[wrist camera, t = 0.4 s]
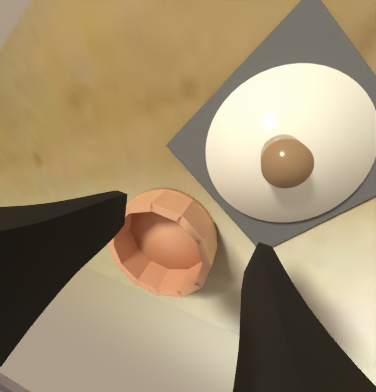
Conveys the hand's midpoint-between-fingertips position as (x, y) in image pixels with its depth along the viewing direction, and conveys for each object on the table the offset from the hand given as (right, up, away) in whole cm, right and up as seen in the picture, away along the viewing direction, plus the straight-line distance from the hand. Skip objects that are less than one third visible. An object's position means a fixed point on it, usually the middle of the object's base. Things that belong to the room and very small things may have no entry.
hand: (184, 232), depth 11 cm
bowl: (-2, -2, +13) cm, 13 cm away
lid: (+8, +5, +6) cm, 11 cm away
